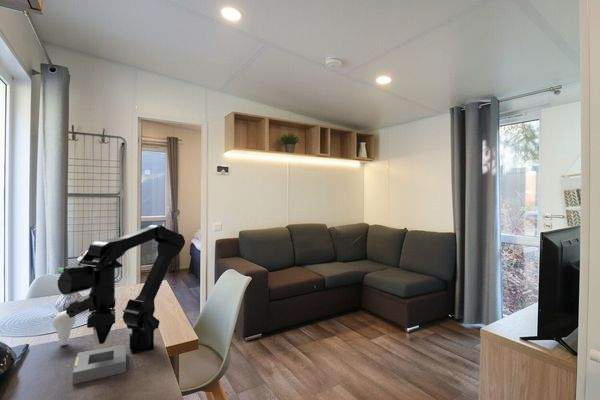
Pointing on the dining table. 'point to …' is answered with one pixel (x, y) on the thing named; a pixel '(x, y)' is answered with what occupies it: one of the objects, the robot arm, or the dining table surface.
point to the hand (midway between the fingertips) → (102, 340)
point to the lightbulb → (63, 326)
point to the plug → (96, 341)
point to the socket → (99, 363)
